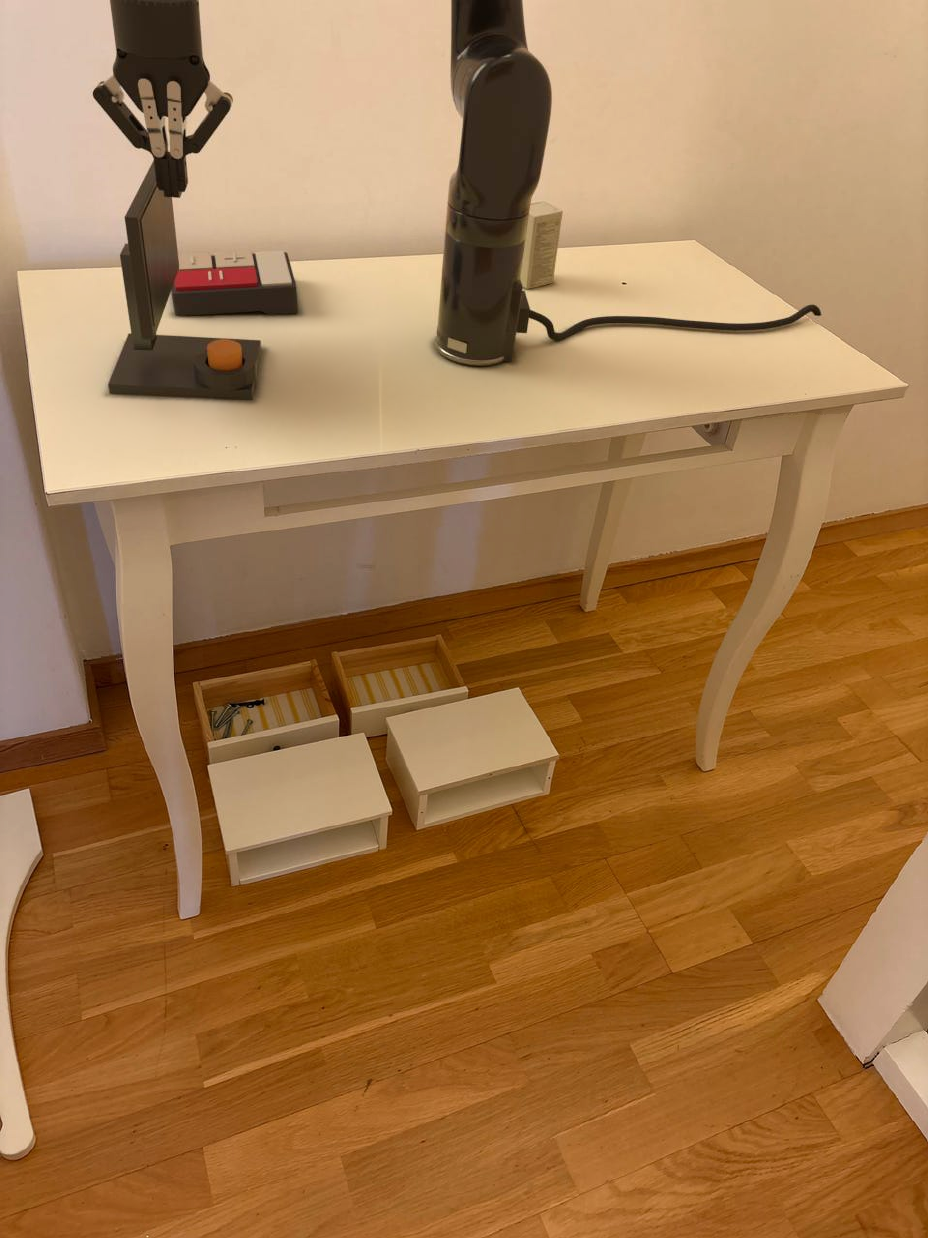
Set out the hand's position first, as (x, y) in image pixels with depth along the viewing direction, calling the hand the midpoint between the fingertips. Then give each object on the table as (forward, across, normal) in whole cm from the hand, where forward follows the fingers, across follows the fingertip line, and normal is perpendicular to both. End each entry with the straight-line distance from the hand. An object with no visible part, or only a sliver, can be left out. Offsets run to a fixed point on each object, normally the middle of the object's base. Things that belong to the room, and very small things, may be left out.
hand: (173, 194), depth 95 cm
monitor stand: (+16, -5, 0) cm, 17 cm away
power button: (+17, +4, -3) cm, 17 cm away
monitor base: (+19, 0, 0) cm, 19 cm away
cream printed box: (+19, +43, +31) cm, 56 cm away
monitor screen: (+11, -3, 0) cm, 12 cm away
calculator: (+19, +3, +20) cm, 28 cm away
